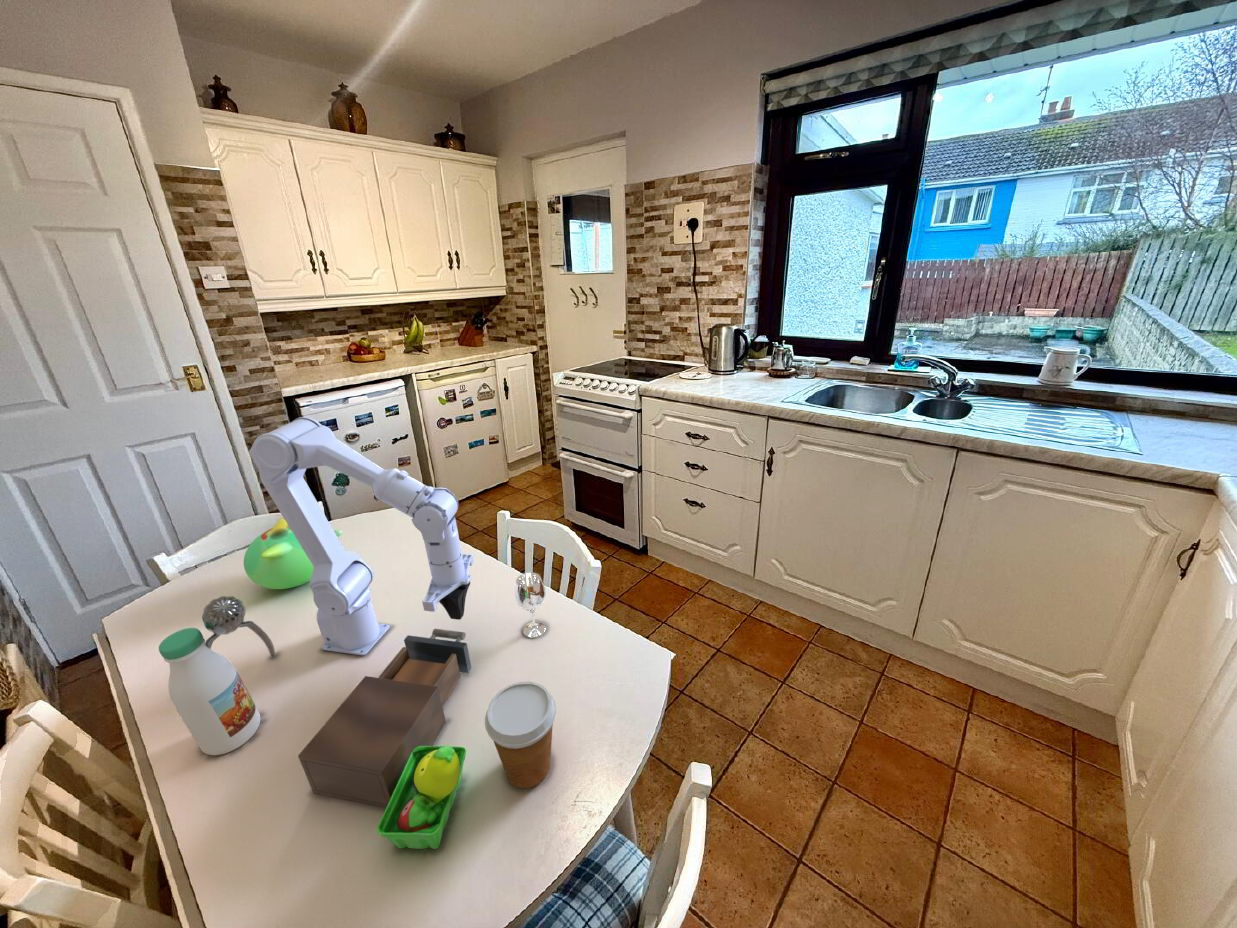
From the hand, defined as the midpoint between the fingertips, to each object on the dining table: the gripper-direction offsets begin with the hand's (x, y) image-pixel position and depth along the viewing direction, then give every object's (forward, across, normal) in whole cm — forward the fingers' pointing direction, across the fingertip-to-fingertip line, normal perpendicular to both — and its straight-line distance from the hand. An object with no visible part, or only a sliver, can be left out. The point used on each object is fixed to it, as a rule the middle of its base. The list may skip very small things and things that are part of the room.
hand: (457, 616), depth 91 cm
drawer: (+5, -11, 0) cm, 12 cm away
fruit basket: (+6, -30, -12) cm, 33 cm away
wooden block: (+4, -13, 0) cm, 13 cm away
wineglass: (+6, +5, -13) cm, 15 cm away
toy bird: (+6, +12, +47) cm, 49 cm away
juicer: (+2, -12, +39) cm, 41 cm away
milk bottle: (+6, -25, +26) cm, 36 cm away
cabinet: (+6, -24, 0) cm, 25 cm away
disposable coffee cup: (+6, -22, -22) cm, 32 cm away
